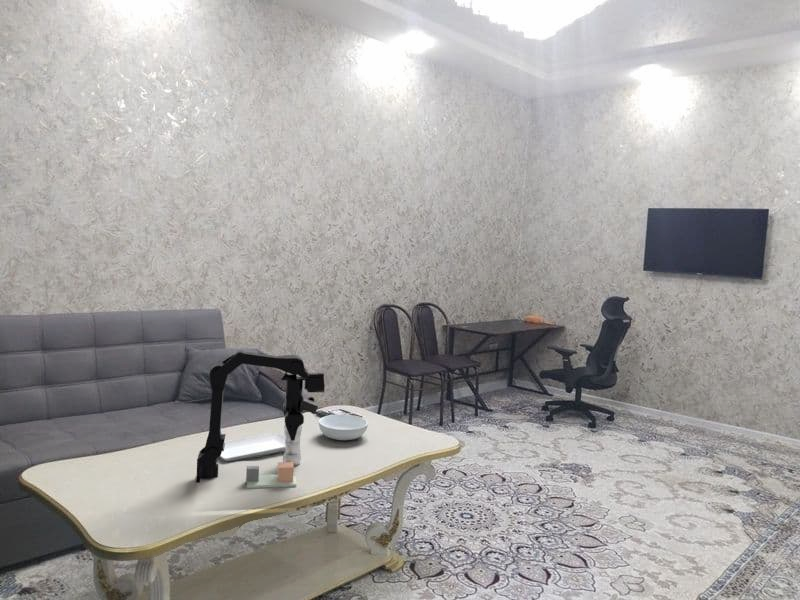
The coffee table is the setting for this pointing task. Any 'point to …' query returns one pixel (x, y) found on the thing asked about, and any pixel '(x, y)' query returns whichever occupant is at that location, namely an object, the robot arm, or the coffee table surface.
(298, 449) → the plastic bottle
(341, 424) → the serving bowl
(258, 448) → the tray
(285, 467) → the terracotta block
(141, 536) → the coffee table surface
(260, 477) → the pale green platform
